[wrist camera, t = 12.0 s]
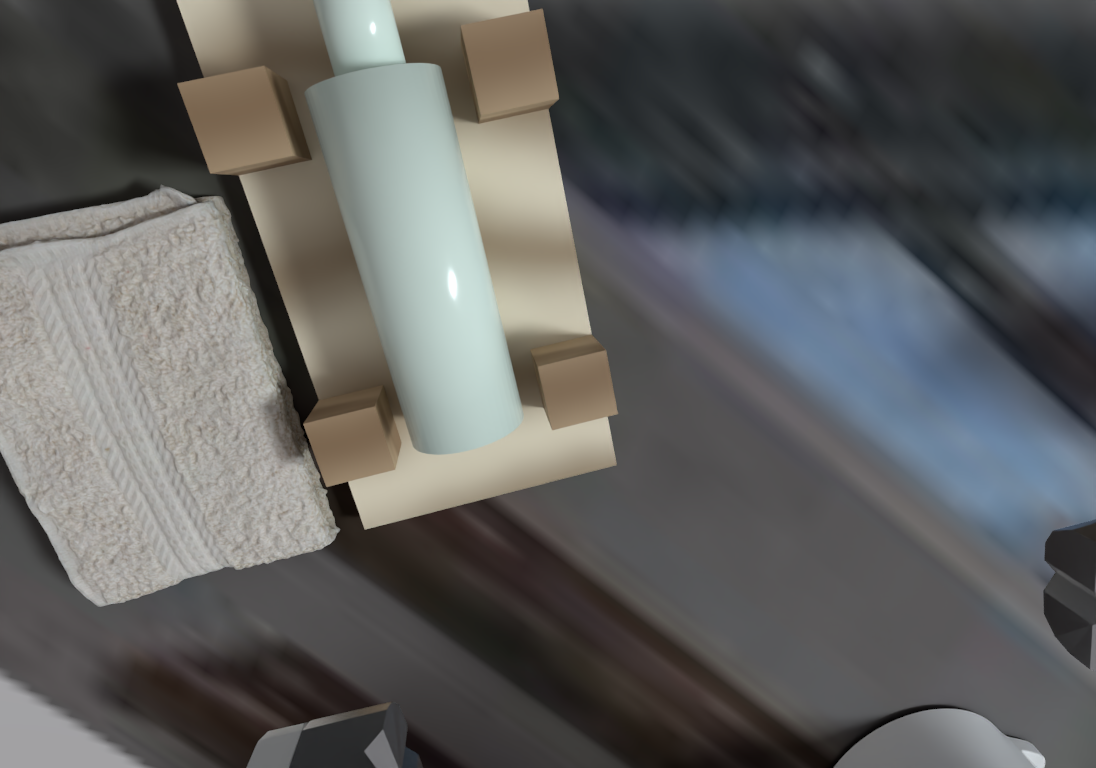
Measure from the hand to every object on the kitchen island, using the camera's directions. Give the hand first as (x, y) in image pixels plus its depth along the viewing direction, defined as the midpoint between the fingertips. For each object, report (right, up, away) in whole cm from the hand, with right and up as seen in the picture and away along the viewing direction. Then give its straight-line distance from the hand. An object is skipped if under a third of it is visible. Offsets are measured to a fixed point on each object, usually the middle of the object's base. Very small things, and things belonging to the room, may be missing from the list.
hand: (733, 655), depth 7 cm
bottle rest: (-8, +9, +21) cm, 24 cm away
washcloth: (-20, +3, +22) cm, 30 cm away
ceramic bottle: (-8, +10, +19) cm, 23 cm away
